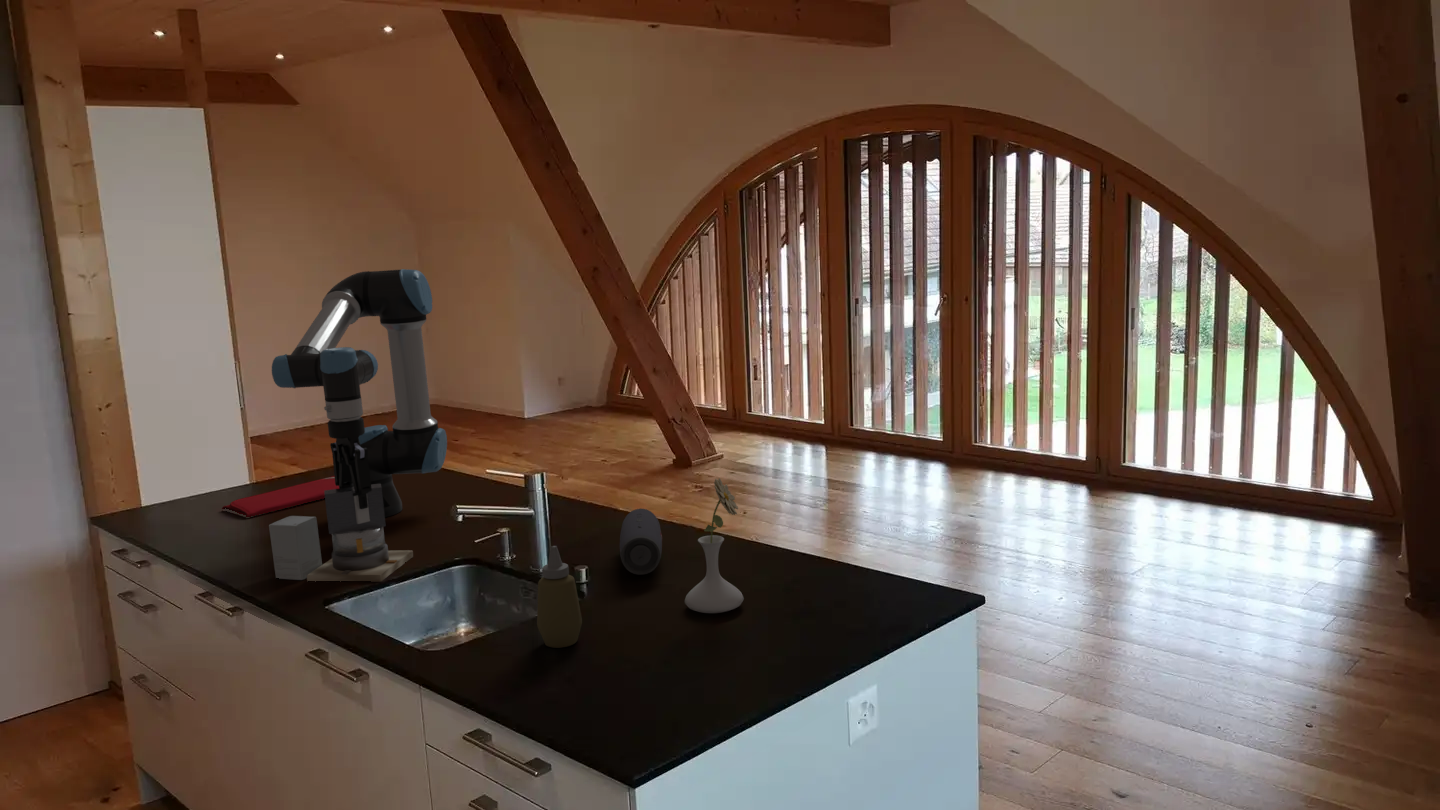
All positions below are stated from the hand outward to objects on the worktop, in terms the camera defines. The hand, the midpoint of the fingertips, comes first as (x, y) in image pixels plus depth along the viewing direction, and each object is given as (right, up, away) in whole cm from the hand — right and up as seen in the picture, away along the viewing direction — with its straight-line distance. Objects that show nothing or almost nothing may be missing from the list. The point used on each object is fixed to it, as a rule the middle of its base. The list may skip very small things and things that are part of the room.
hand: (356, 519), depth 239 cm
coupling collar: (0, -7, +1) cm, 7 cm away
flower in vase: (+81, -14, -32) cm, 88 cm away
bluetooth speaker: (+64, -9, -4) cm, 65 cm away
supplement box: (-13, -13, 0) cm, 18 cm away
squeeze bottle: (+53, -17, -46) cm, 72 cm away
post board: (0, -11, +2) cm, 11 cm away
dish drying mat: (-39, -2, +70) cm, 80 cm away
